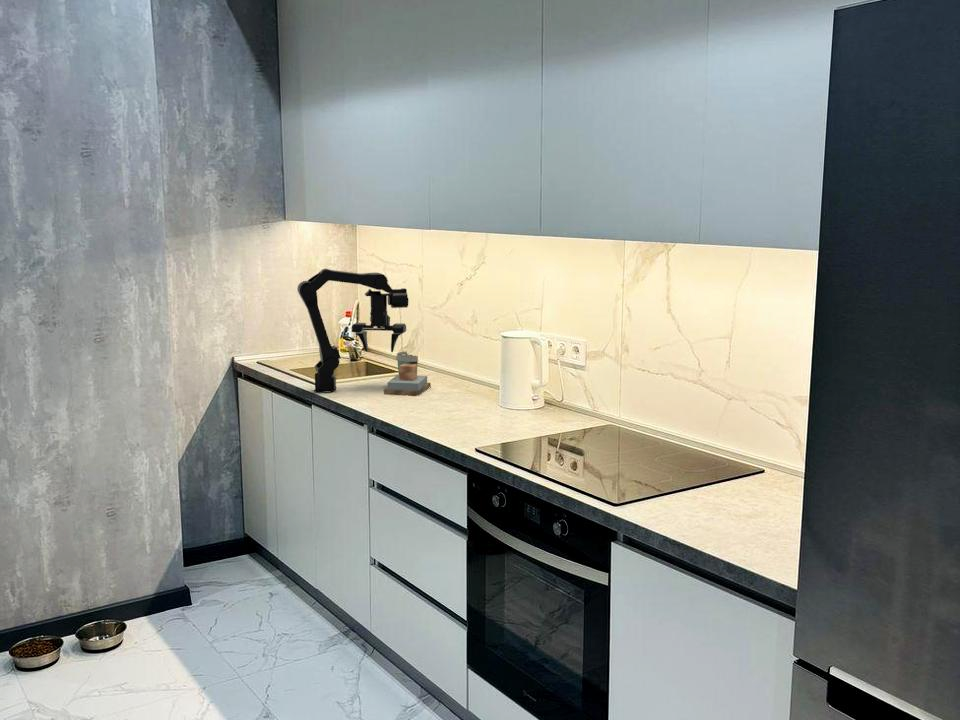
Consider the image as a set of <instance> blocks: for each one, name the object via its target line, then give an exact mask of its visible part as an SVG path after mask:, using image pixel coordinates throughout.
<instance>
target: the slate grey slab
mask: <svg viewBox="0 0 960 720" xmlns="http://www.w3.org/2000/svg"><path fill="white" fill-rule="evenodd" d="M386 383H387V385H386V388H387V389H388V390H416V391H419V390H420V389H421V388H422V387H423V386H424V385H425V384H426V383H428V375H417V379H415V380H413V381H408V380H399V374H397V375H395V376H394V377H392V378H391V379H390V380H389V381H387V382H386Z"/></svg>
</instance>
